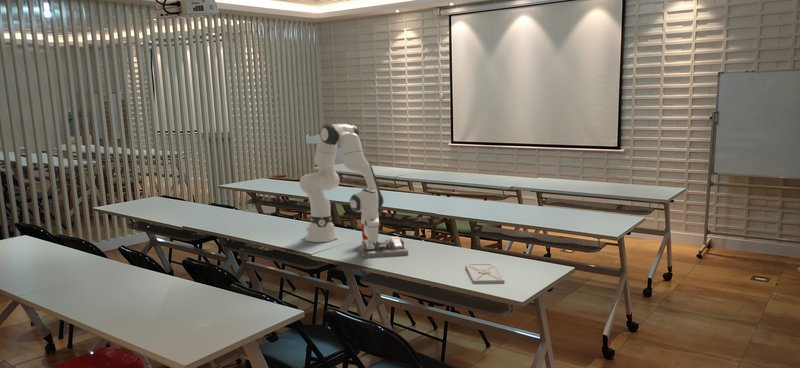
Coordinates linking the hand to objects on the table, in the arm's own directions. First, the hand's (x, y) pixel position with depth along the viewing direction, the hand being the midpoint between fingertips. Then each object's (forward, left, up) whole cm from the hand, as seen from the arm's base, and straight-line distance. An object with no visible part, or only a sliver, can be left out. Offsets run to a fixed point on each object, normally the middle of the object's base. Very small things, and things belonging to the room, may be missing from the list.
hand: (370, 246), depth 301 cm
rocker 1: (-5, 0, 0) cm, 5 cm away
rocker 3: (-5, +15, 0) cm, 16 cm away
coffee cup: (-22, +3, -5) cm, 23 cm away
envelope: (+46, +44, -5) cm, 64 cm away
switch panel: (-3, +7, -5) cm, 9 cm away
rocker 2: (-5, +7, 0) cm, 9 cm away
